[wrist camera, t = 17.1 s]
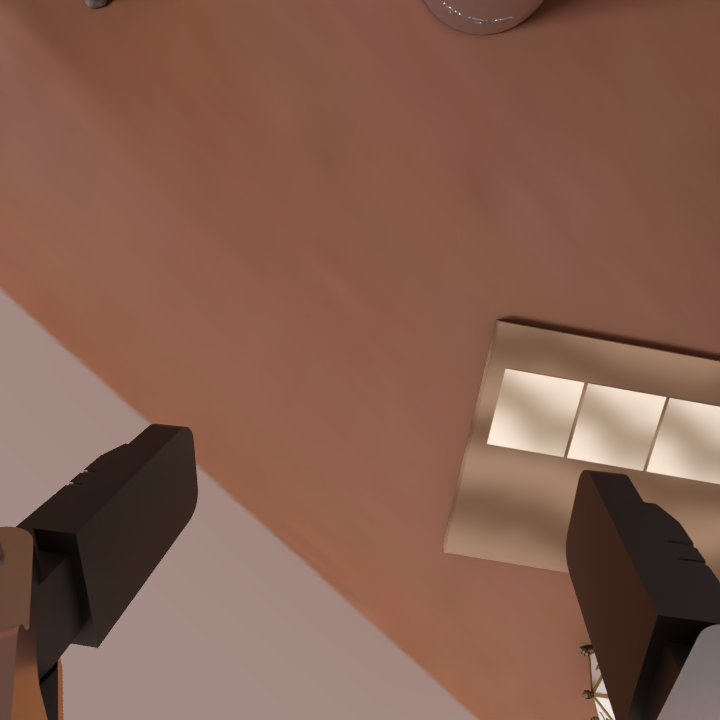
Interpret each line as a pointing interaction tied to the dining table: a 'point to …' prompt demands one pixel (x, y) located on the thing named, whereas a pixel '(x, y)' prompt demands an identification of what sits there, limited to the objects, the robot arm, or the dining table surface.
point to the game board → (583, 442)
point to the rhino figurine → (95, 3)
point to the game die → (597, 689)
